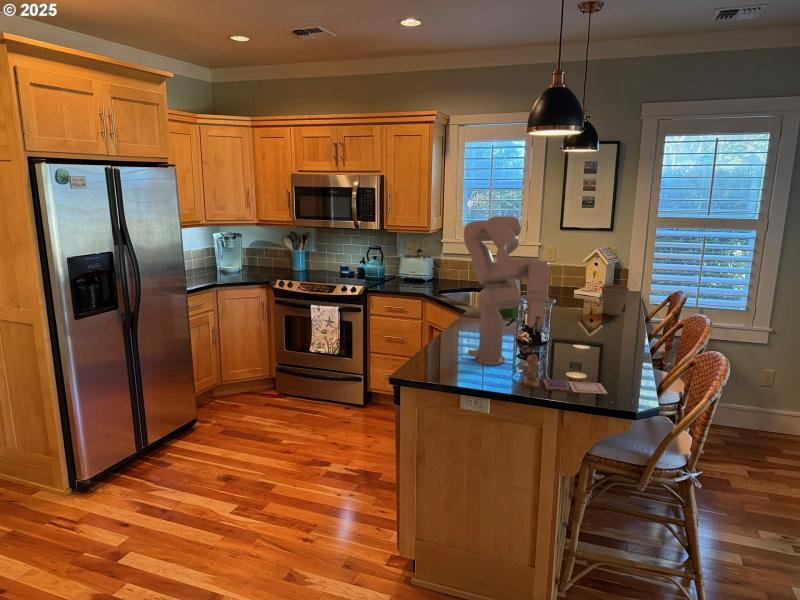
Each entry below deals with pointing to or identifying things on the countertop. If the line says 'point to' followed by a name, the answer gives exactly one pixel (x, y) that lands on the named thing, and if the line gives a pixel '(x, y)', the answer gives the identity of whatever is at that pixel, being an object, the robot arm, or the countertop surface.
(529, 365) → the stamp
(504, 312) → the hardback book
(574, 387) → the note card
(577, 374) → the countertop surface
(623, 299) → the plant pot
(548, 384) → the ink pad
